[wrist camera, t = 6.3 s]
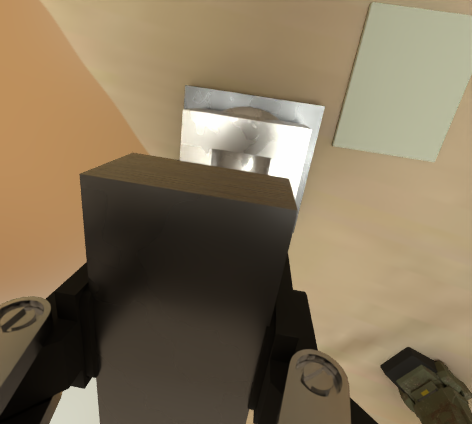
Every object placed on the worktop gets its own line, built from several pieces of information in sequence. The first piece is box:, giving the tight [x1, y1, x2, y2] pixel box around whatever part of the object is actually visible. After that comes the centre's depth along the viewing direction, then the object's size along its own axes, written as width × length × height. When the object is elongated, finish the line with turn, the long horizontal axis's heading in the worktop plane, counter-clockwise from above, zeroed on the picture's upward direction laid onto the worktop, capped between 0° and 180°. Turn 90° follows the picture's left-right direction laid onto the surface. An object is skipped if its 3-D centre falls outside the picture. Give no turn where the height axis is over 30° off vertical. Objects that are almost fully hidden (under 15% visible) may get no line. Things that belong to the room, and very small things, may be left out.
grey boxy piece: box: [180, 107, 312, 198], centre depth 25 cm, size 11×11×6 cm
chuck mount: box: [184, 85, 325, 233], centre depth 29 cm, size 13×13×2 cm
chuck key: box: [80, 153, 298, 424], centre depth 12 cm, size 9×4×9 cm, turn 172°
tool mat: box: [332, 2, 472, 162], centre depth 26 cm, size 12×10×1 cm
